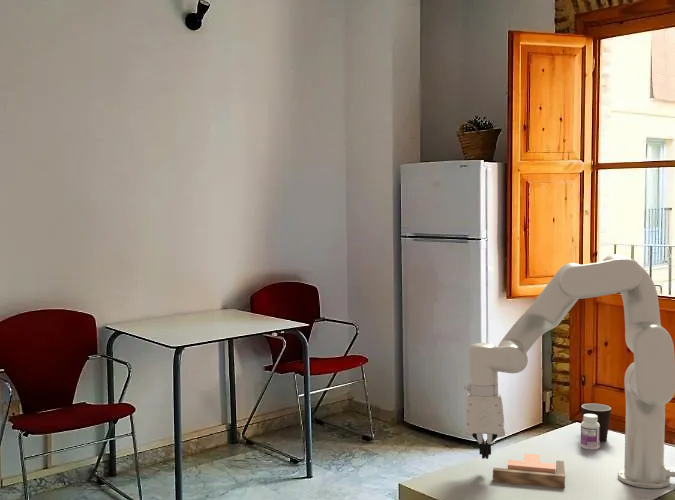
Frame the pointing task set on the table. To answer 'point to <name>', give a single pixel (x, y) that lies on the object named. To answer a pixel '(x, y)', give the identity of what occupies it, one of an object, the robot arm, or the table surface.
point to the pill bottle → (590, 432)
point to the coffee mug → (599, 417)
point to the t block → (531, 464)
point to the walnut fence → (532, 476)
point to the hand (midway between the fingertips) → (485, 456)
